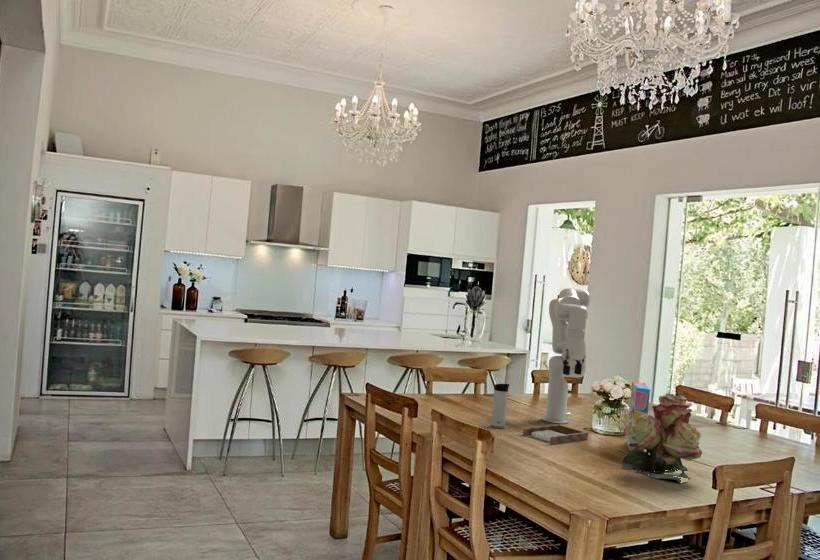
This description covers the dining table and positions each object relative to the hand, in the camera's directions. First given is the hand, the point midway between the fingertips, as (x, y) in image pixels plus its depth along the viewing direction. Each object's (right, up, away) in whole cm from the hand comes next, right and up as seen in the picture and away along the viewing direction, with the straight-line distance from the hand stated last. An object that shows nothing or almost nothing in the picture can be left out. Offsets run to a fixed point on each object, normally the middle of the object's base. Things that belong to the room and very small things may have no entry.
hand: (571, 374), depth 325 cm
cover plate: (-11, -26, -7) cm, 30 cm away
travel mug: (-31, -25, +9) cm, 41 cm away
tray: (-9, -27, -5) cm, 29 cm away
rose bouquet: (+24, -32, -46) cm, 61 cm away
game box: (+25, -31, -9) cm, 40 cm away
